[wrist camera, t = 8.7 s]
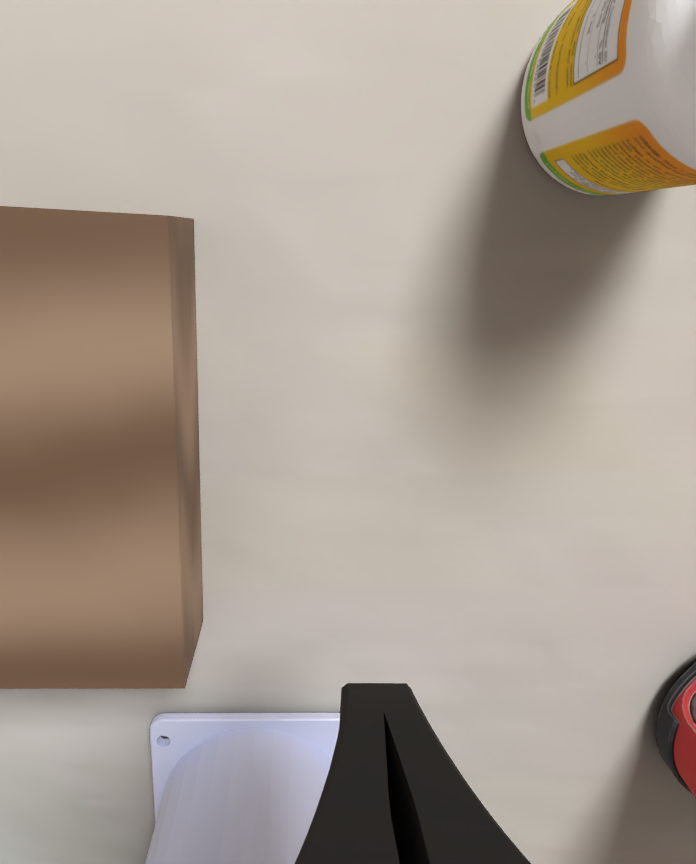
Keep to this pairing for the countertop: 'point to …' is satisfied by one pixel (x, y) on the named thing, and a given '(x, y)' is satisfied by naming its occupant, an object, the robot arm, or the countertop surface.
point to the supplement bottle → (615, 96)
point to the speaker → (680, 729)
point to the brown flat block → (98, 450)
